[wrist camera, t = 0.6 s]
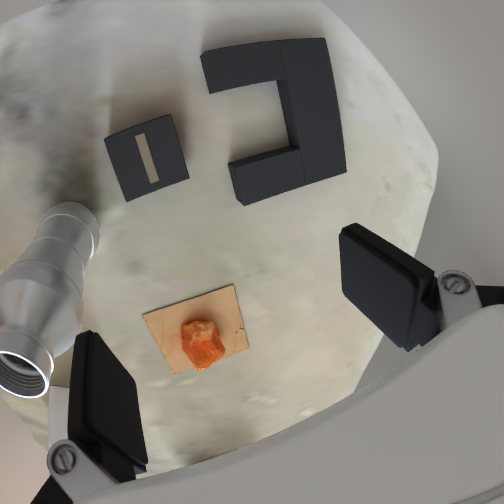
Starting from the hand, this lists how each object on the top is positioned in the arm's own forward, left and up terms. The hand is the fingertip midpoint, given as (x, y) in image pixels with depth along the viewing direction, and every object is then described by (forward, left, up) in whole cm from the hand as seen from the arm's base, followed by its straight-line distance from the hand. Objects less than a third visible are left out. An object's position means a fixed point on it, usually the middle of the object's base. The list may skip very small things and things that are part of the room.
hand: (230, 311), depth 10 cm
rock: (+21, -3, -22) cm, 30 cm away
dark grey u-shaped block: (-3, +13, -22) cm, 25 cm away
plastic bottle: (+1, -11, -22) cm, 25 cm away
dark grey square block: (-3, -1, -22) cm, 22 cm away
